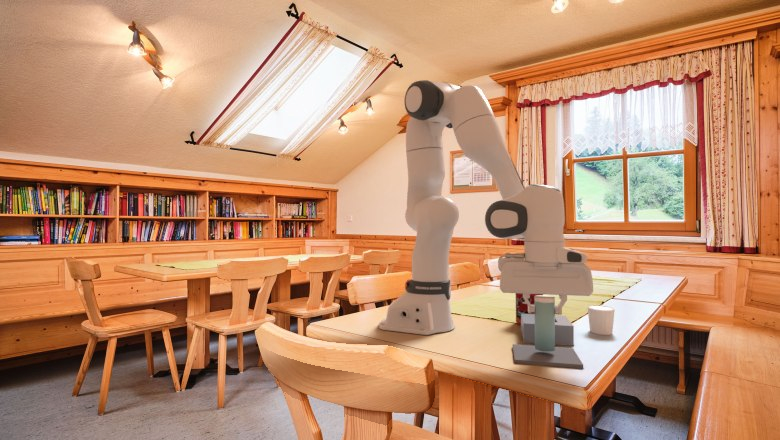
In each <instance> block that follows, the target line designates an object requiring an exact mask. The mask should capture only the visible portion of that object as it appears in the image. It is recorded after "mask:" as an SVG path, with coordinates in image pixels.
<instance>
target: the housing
mask: <svg viewBox="0 0 780 440" xmlns="http://www.w3.org/2000/svg"><path fill="white" fill-rule="evenodd" d="M520 332H521V336H522V340H523V341H522V342H523V343H525V344H535V314H521V325H520ZM574 335H575V333H574V325H573V324H572V322H571V321H570V320H569V318H568V317H567V316H566V315H558V314H555V346H569V347H571V346H572V347H574V345H575V344H574V341H575V339H574Z"/></svg>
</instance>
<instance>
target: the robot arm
mask: <svg viewBox="0 0 780 440" xmlns="http://www.w3.org/2000/svg"><path fill="white" fill-rule="evenodd" d="M404 109H405V111H406V113H407V114H408V116H410V117H409V119H408V121H407V123H406V128H405V129H406V130H405V153H406V165H407V167H406V168H407V192H406V193H407V196H406V210H405V214H404V218H405V221H406V224H407V225H408V226H409V228H411V229H412V230H413V231H415V232H416V238H415V242H414V248H413V250H412V252H411V278H408V279H407V280H406V282H405V283H404V289H405V292H404V293H402V294H401V295H400V296H399V297H397V298H396V299H395V300H394V301H392V302H391V303H390V304H389V305H388V309H387V312H386V317H385V318H383V319H382V320H380V322H379V324H378V328H379V329H380V330H384V331H390V332H392V331H393V332H397V333H398V332H399V333H407V334H416V335H422V336H423V335H424V336H429V335H432V334H433V335H434V334H437V333H445V332H449V331H452V330H453V329H455V323H454V320H453V316H452V311H451V310H452V309H451V301H450V299H451V295H452V294H451V293H452V284H451V280H450V277H449V275H450V250H451V244H452V239H453V235H454V229H455V227H456V226H457V223H458V221H459V217H460V211H459V209H458V206H457V204H456V203H455V202H454V201H453V200H451V199H450V198H448V197H445V196H442V191H443V190H442V189H443V182H444V179H445V177H446V168H445V159H444V145H443V138H442V136H443V135H442V134H443V131H444V129H445V128H447V129H452V131H453V133H454V136H455V139H456V142H457V144H458V146H459V148H460V149H461V151H462V153H463V155H464V156H465V157H466V158H468V159H470V160H471V161H472V162H474V163H476V164H477V165H479V166H480V167H482V168H483V169H485V171H487V172H488V174H490V176H491V177H492V179H493V180H494V182H495V185H496V187H497V189H498V191H499V193H500V196H501V198H502V199H501V200H498V201H497V200H496V201H494V202H493V203H491V204H490V205H489V207H488V208H487V209H486V212H485V216H484V224H485V227H486V229H487V231H488V232H489V233H490V234H491V235H492V236H494V237H496V238H500V239H503V240H505V239H507V240H508V239H509V240H510V239H511V240H513V239H514V240H515V239H516V240H524V243H523V244H524V246H523V247H524V248H523V249H524V252H523V253H522V252H521V253H509V252H506V253H504V254H503V255H500V256H499V257H498V259H497V260H498V261H497V268H498V270H499V271H500V277H499V290H500V291H501V292H502V294H503V293H506V294H516V293H523V298H524V300H525V302H526V303H527V305H528V313H535V305H532V304H530V302H529V300H528V299H527V298H530V294H543V295H548V296H553V295H554V296H555V295H556V296H558V298H559V299H560V301H559V303H558V304H557V305H555V315H561V316H563V307H564V305H565V304H566V303H567V301H568V296H578V297H579V296H580V297H582V296H583V297H590V296H591V295H592V294H593V293H594V282H593V275H592V271H591V268H590V266H589V265H587V264H586V263H588V256H587V254H586V253H584V252H582V251H578V250H576V249H574V248H570V247H568V248H567V247H566V239H565V235H564V226H565V222H566V216H565V202H564V197H563V193H562V191H561V190H560V189H559V188H557V187H556V186H552V185H546V184H537V183H531V184H528V185H527V186H526V187H525V185H524V183H523V181H522V179H521V177H520V174H519V172H518V170H517V168H516V165H515V164H514V161H513V159H512V157H511V155H510V153H509V150H508V147H507V146H506V143H505V140H504V138H503V136H502V133H501V130H500V127H499V124H498V122H497V119H496V116H495V114H494V111H493V109H492V107H491V105H490V103H489V101H488V99H487V98H486V96H485V95H484V93H483V91H482V89H480V87H478V86H476V85H473V84H466V85H461V84H460V85H457V84H454V83H451V82H447V81H430V80H427V79H426V80H423V79H422V80H416V81H414V82H413V83H411V84H410V85H409V86H408V88H407V90H406V92H405V95H404Z"/></svg>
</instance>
